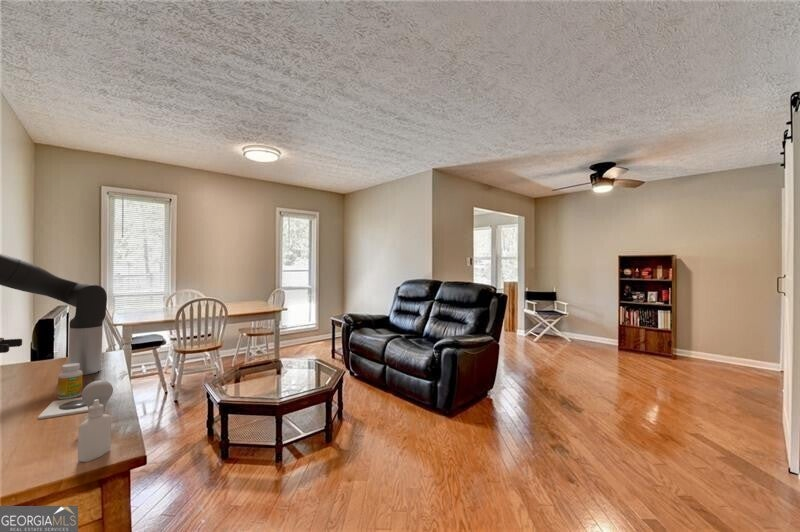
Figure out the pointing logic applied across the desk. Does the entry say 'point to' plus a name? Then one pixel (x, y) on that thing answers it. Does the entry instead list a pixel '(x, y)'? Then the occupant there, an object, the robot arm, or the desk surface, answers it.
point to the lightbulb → (97, 393)
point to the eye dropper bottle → (94, 434)
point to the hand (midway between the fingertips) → (15, 345)
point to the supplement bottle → (70, 381)
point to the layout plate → (64, 408)
